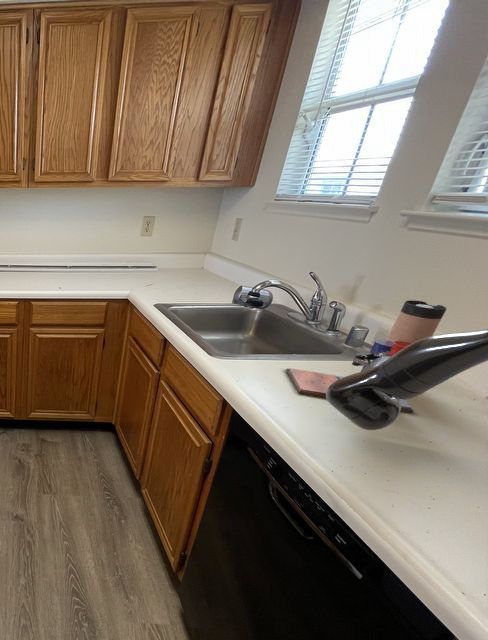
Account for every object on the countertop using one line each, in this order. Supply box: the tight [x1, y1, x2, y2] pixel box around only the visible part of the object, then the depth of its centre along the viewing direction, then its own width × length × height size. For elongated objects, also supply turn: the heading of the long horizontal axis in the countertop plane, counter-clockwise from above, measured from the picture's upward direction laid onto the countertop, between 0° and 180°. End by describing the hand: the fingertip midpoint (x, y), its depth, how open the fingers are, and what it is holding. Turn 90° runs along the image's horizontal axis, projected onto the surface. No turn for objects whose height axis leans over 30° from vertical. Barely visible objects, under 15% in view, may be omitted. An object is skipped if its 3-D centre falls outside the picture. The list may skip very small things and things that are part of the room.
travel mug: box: [385, 299, 447, 343], centre depth 106 cm, size 8×8×20 cm
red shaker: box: [388, 341, 412, 356], centre depth 94 cm, size 5×5×11 cm
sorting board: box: [285, 367, 414, 414], centre depth 103 cm, size 22×14×1 cm, turn 68°
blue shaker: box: [360, 339, 394, 372], centre depth 102 cm, size 5×5×11 cm
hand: (402, 359), depth 95 cm, fingers closed on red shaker, 4 cm apart
